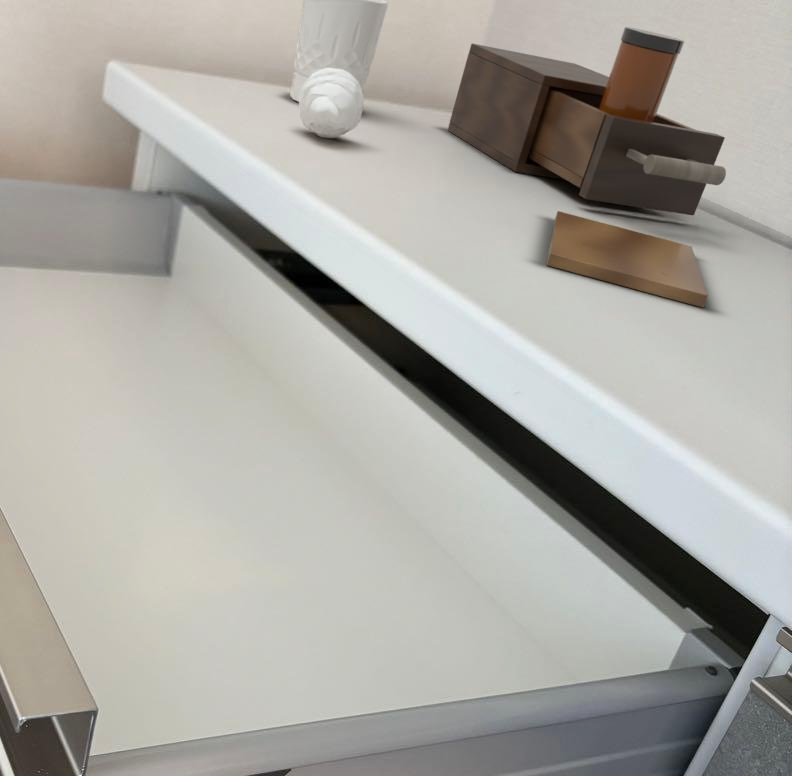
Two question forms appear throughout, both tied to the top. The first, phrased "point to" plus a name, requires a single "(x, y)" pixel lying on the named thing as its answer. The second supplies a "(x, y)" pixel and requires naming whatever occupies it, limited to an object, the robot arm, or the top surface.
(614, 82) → the spice jar
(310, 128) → the garlic bulb
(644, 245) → the cork mat
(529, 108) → the cabinet
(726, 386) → the top surface
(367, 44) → the white tapered cylinder
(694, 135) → the drawer
